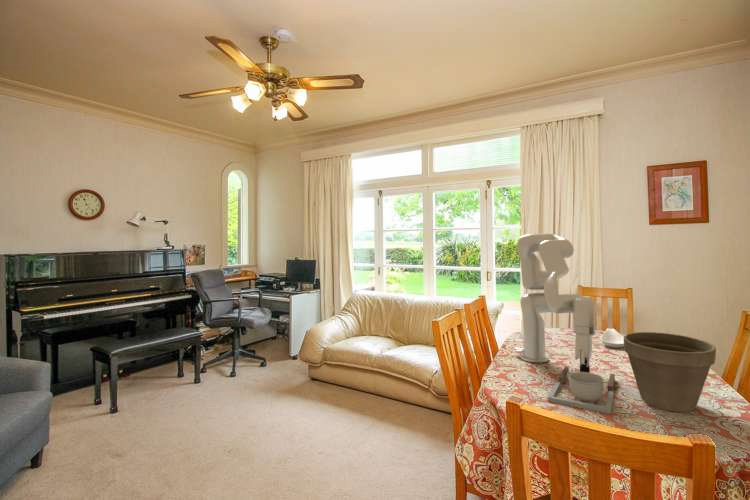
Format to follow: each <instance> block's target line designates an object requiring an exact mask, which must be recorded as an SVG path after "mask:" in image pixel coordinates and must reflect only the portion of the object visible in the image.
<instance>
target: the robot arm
mask: <svg viewBox="0 0 750 500" xmlns="http://www.w3.org/2000/svg"><path fill="white" fill-rule="evenodd" d="M516 251H517V255H518V257H519V261H520V271H521V283H522V284H521V285H522V286H523V288H524V289H525V290H526V291H543V292H530V293H529V292H528V293H526V294H524V295H522V296H521V298H520V309H521V313H522V314H521V315H522V331H523V332H522V333H523V337H522V338H523V340H522V341H523V347H521V348H519V347H514V352H515V353H517V354H520V359H521V360H522V361H525V362H529V363H537V364H538V363H539V364H541V363H543V364H544V363H547V362H549V361H550V357H549V356H548V355H546V332H545V331H546V329H545V321H544V319H543V317H542V316H541V314H542V313H554V314H572V329H573V331H572V333H573V334H575V340H574V342H575V344H574V359H575V360H579V372H589V373H591V368H590V367H591V366H590V360H591V358H592V355H593V336H594V335H596V301H595V299H594V298H592V297H587V296H583V295H581V294H579V293H569V294H559V284H558V280H560V279H561V278H563V277H564V276H567V274H568V273H569V271H570V270H569V269H570V268H569V266H568V264H567V262H566V259H568V258H571V257H572V256H573V255H574V251H575V249H574V245H573V243H572V242H571V241H570V240H569V239H567V238H565V237H562V236H561V235H560V236H559V234H558V235H557V234H555V233H529V234H524V235H522V236H520V237H519V238H518V240H517V243H516ZM535 253H539V256H540V258H541V261H542V263H543V265H544V268H545V269H541V262H540V259H539V257H538V256H537V255H536V254H535Z"/></svg>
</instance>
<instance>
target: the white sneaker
mask: <svg viewBox="0 0 750 500" xmlns="http://www.w3.org/2000/svg"><path fill="white" fill-rule="evenodd" d="M600 341H601V343H602V344H604V345H605V346H606V347H608V348H611V349H620V348H624V336H623V335H621V334H620V332H618V331H617V329H615V328H606V330H605V331H604V333H603V334H602V335H601V336H600Z"/></svg>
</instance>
